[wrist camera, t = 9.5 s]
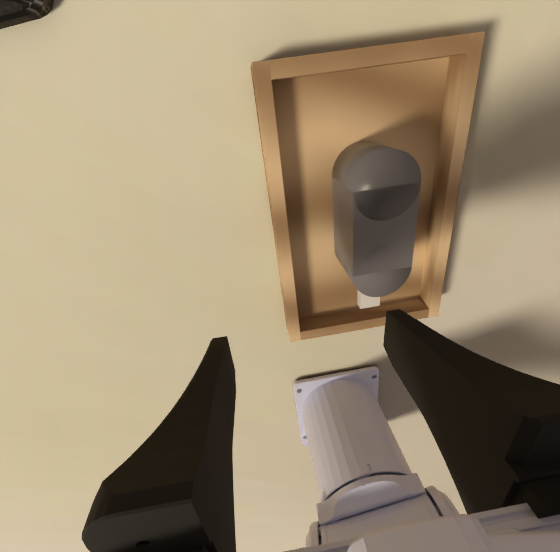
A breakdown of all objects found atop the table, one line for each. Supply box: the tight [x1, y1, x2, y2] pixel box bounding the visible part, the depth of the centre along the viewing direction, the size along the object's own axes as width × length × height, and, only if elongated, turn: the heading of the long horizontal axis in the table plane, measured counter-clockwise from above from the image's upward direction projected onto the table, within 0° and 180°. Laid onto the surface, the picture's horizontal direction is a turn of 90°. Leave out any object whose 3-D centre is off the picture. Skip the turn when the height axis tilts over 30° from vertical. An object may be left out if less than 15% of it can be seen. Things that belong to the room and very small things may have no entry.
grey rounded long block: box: [332, 141, 421, 309], centre depth 19 cm, size 11×4×4 cm, turn 7°
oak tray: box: [251, 31, 485, 342], centre depth 20 cm, size 18×12×2 cm, turn 7°
